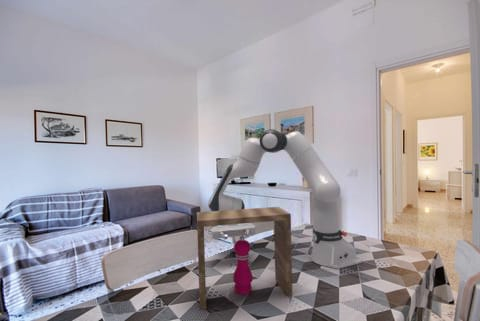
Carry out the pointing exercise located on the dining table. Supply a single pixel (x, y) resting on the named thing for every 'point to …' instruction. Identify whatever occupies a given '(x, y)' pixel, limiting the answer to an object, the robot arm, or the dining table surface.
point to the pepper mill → (242, 267)
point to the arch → (250, 216)
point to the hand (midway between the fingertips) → (236, 236)
